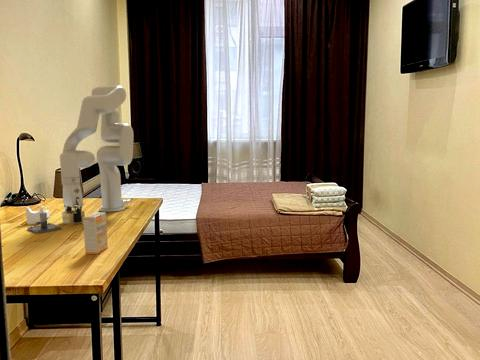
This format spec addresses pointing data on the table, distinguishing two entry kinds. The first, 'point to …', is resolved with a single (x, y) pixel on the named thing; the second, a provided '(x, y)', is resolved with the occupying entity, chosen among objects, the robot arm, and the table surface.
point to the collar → (71, 217)
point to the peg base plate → (44, 225)
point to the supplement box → (95, 232)
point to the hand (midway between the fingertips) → (73, 220)
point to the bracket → (35, 215)
